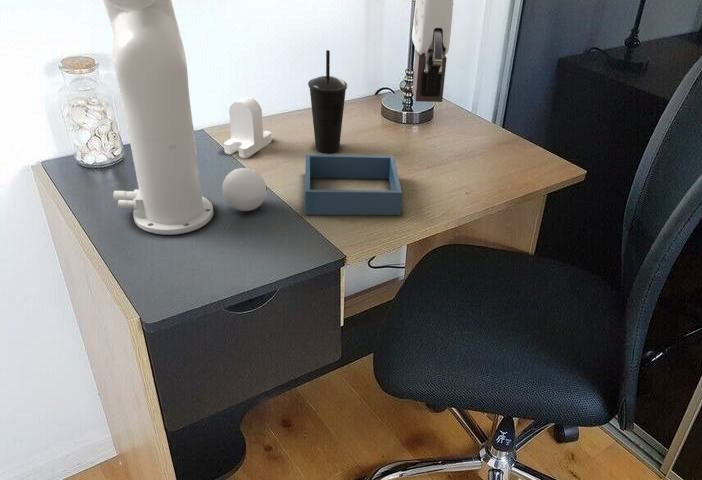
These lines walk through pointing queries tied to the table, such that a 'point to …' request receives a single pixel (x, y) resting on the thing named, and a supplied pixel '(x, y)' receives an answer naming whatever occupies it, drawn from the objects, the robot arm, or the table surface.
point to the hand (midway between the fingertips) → (427, 89)
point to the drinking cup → (327, 109)
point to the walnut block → (418, 78)
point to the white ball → (244, 189)
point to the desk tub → (352, 199)
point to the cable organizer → (246, 128)
